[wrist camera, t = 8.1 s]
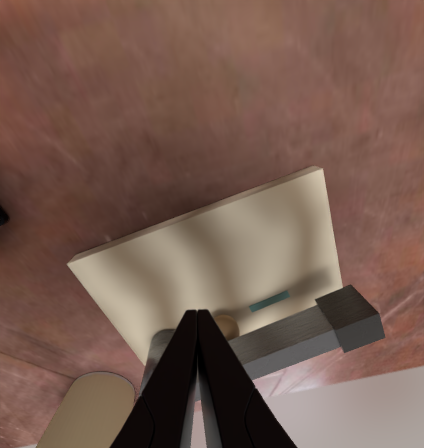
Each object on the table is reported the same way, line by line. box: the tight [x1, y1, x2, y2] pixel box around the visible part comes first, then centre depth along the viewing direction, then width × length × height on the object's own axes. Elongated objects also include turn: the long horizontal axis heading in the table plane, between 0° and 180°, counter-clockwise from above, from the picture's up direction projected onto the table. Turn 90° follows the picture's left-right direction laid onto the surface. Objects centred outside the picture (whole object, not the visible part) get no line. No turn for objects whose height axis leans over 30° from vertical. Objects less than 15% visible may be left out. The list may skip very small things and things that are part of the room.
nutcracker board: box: [67, 166, 343, 366], centre depth 20 cm, size 22×16×4 cm
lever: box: [138, 285, 385, 402], centre depth 19 cm, size 20×4×6 cm, turn 117°
